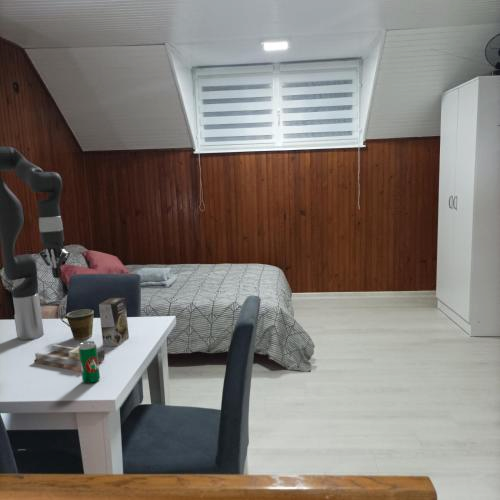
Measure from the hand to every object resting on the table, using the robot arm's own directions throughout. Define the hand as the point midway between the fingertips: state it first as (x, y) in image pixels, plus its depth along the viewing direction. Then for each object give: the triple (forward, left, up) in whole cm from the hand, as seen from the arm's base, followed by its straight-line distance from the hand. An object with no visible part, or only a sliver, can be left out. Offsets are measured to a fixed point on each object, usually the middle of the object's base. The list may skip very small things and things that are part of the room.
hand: (57, 277), depth 160 cm
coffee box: (+13, +12, -27) cm, 32 cm away
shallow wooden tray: (+10, -8, -27) cm, 30 cm away
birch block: (+17, -8, -26) cm, 32 cm away
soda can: (+29, -17, -27) cm, 43 cm away
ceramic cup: (-5, +11, -27) cm, 30 cm away
